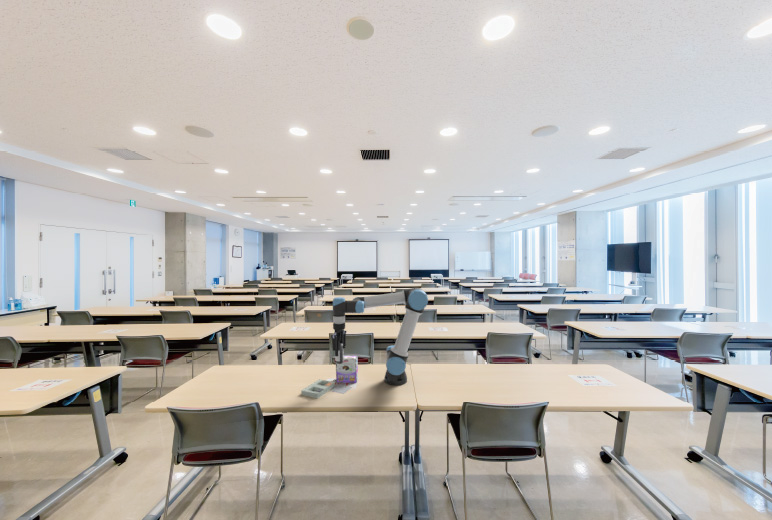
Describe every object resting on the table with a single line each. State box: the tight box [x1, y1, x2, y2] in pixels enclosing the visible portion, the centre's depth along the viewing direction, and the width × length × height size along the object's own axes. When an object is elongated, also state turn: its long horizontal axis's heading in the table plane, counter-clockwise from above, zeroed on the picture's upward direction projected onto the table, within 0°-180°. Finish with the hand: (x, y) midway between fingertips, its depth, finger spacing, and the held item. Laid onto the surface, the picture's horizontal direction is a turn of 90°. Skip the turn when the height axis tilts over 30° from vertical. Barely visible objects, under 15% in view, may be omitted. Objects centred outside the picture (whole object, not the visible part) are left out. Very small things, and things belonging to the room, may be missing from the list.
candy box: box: [335, 355, 359, 384], centre depth 210 cm, size 14×6×16 cm, turn 84°
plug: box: [335, 343, 343, 364], centre depth 197 cm, size 4×4×12 cm
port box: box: [300, 379, 336, 399], centre depth 196 cm, size 12×18×3 cm, turn 156°
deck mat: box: [330, 384, 353, 395], centre depth 197 cm, size 10×10×1 cm
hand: (339, 359), depth 197 cm, fingers closed on plug, 4 cm apart
